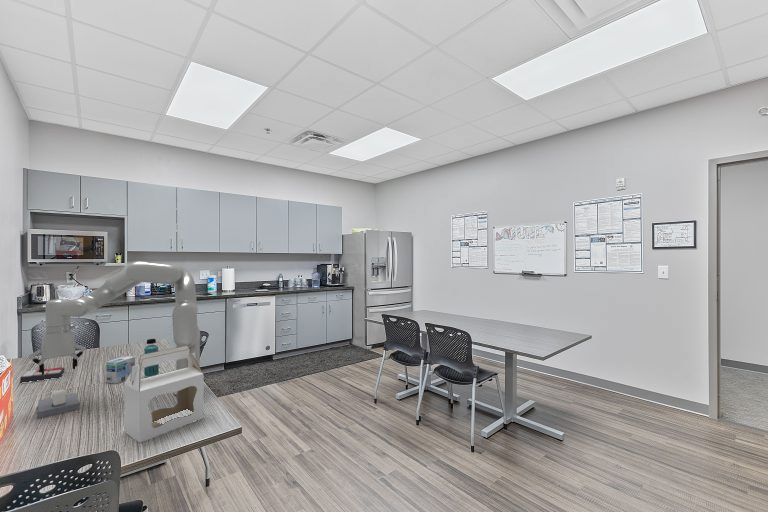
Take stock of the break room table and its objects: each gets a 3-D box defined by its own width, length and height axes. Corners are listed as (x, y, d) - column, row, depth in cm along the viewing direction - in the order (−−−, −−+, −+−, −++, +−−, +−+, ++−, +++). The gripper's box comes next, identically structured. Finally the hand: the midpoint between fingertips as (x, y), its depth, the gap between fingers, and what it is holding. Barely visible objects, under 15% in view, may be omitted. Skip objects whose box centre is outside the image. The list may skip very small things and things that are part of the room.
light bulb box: (116, 384, 173) (116, 362, 173) (105, 383, 174) (105, 361, 174) (135, 376, 183) (135, 356, 183) (125, 376, 185) (125, 355, 185)
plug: (65, 410, 143) (65, 392, 143) (53, 413, 140) (53, 394, 141) (64, 406, 146) (64, 389, 146) (52, 409, 144) (52, 391, 144)
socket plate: (78, 409, 144) (78, 401, 144) (38, 418, 136) (38, 410, 136) (76, 398, 156) (76, 390, 156) (38, 406, 147) (38, 398, 147)
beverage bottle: (147, 380, 178) (147, 341, 178) (141, 378, 181) (141, 339, 181) (161, 376, 183) (161, 338, 183) (155, 374, 187) (155, 337, 187)
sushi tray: (60, 371, 183) (20, 375, 174) (60, 380, 182) (19, 384, 174) (64, 366, 192) (26, 370, 183) (64, 374, 192) (26, 378, 183)
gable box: (138, 443, 117) (138, 360, 117) (123, 432, 124) (123, 354, 124) (204, 418, 135) (204, 346, 135) (187, 409, 142) (187, 341, 143)
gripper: (85, 325, 152) (85, 364, 152) (28, 331, 140) (29, 374, 140) (86, 327, 147) (87, 368, 147) (28, 334, 135) (28, 378, 135)
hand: (58, 371), depth 144 cm, fingers open, 9 cm apart
